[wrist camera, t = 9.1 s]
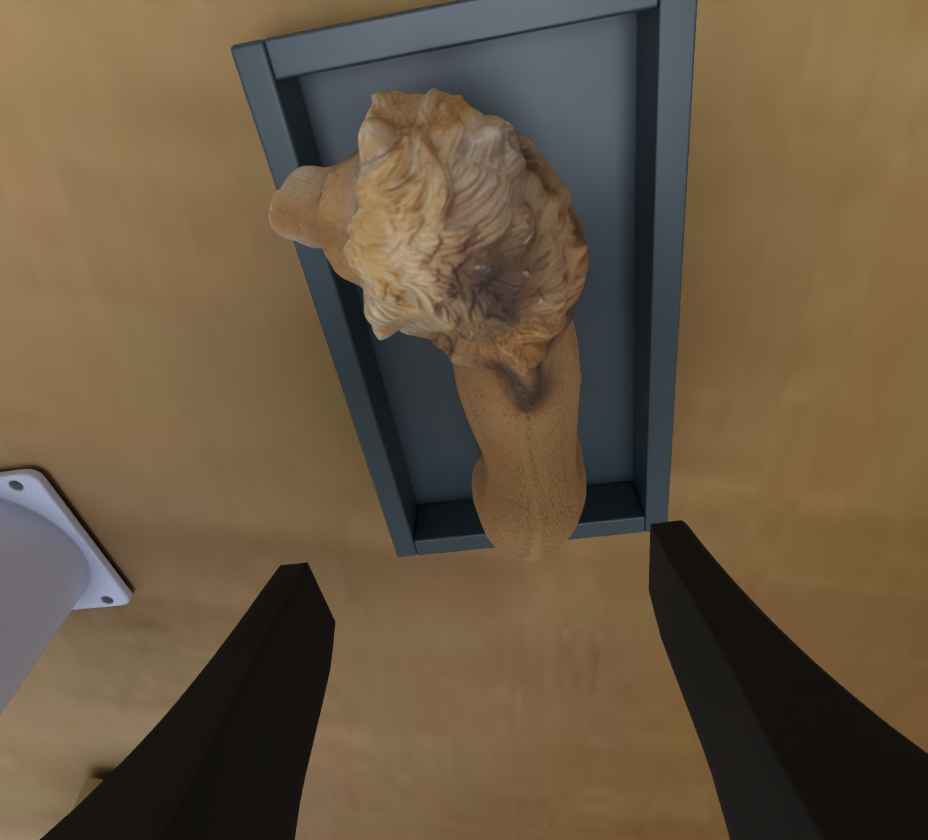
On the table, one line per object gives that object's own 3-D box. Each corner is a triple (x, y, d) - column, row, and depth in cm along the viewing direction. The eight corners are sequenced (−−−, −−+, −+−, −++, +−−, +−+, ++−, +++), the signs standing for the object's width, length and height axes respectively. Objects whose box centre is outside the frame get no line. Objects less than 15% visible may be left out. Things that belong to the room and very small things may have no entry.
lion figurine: (318, 109, 15) (171, 192, 8) (512, 22, 14) (559, 21, 7) (498, 500, 23) (511, 729, 15) (631, 464, 22) (715, 692, 14)
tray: (403, 513, 24) (397, 558, 22) (260, 43, 15) (227, 45, 13) (650, 486, 23) (667, 530, 21) (667, -39, 14) (700, -48, 12)
